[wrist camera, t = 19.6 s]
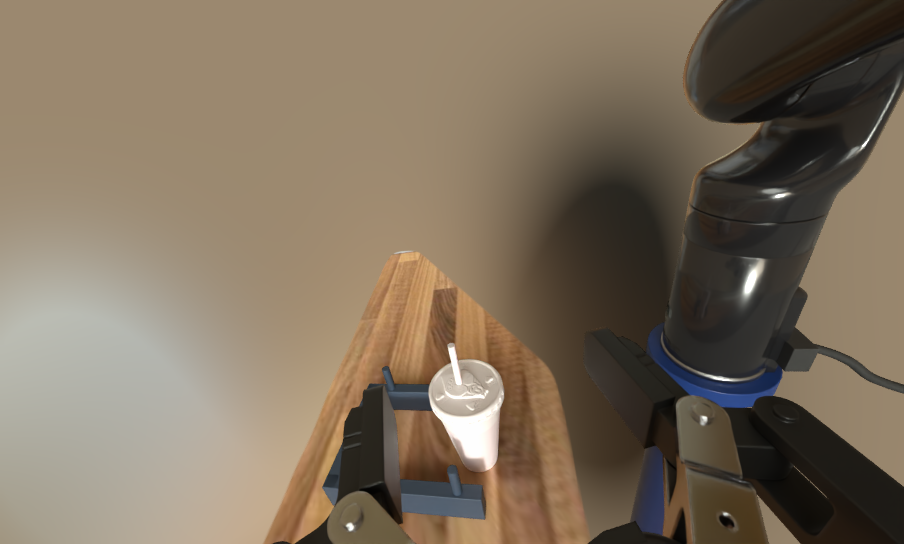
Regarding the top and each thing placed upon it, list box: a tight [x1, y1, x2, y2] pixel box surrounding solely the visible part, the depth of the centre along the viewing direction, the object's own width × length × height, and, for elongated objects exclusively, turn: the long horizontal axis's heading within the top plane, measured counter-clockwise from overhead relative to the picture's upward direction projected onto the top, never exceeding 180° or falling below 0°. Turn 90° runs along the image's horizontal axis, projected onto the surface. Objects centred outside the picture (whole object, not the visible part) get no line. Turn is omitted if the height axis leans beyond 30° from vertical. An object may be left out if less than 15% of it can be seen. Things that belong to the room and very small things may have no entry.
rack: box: [322, 366, 486, 520], centre depth 33 cm, size 14×12×6 cm
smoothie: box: [429, 343, 504, 472], centre depth 30 cm, size 6×6×14 cm
